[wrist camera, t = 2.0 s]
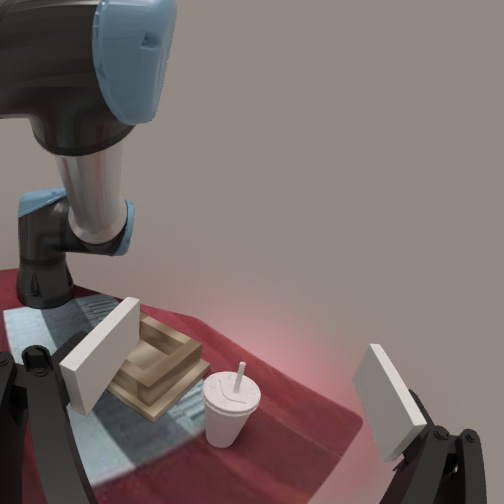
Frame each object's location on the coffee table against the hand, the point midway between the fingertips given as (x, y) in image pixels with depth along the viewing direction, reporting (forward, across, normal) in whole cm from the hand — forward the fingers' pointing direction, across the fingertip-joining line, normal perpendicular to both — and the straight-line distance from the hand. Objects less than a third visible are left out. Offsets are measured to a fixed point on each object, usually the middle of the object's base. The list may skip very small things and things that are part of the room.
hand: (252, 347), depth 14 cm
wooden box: (+19, -14, -22) cm, 32 cm away
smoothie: (+10, 0, -23) cm, 25 cm away
